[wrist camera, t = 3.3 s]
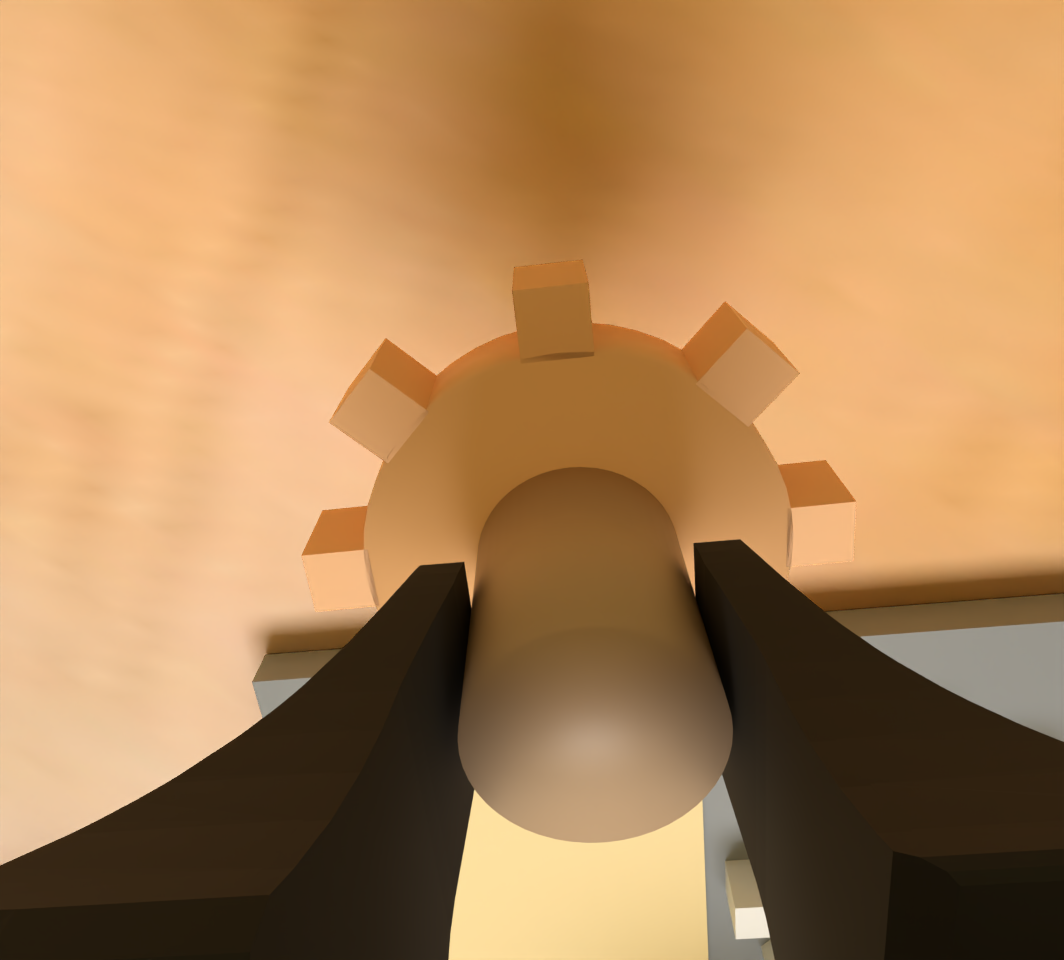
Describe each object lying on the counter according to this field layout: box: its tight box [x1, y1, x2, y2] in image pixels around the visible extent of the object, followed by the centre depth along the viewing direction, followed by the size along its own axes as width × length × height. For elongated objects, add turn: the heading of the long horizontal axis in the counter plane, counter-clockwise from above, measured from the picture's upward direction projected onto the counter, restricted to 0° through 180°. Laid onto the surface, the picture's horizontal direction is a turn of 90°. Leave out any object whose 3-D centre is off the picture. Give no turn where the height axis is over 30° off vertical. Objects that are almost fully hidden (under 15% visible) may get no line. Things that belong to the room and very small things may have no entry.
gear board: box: [252, 593, 1064, 960], centre depth 24 cm, size 22×14×6 cm, turn 96°
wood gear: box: [302, 260, 856, 843], centre depth 12 cm, size 8×8×6 cm
